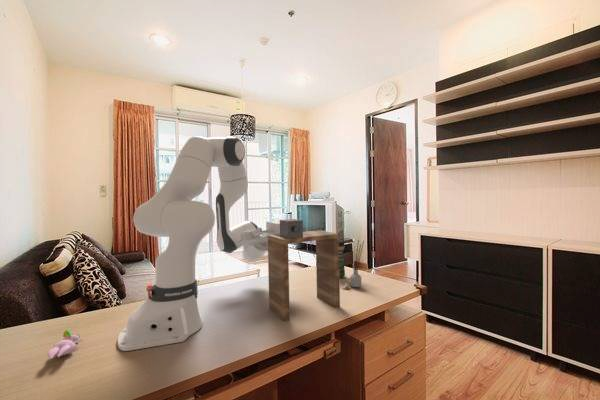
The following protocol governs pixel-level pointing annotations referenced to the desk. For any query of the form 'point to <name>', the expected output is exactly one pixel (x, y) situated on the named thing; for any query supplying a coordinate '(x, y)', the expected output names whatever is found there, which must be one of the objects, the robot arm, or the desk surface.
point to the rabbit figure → (64, 345)
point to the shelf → (324, 268)
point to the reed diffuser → (355, 273)
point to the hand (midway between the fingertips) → (271, 228)
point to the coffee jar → (341, 258)
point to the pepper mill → (286, 228)
